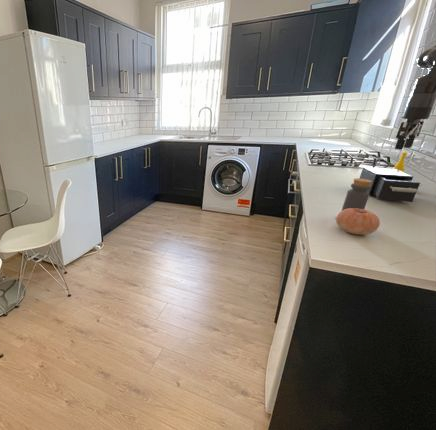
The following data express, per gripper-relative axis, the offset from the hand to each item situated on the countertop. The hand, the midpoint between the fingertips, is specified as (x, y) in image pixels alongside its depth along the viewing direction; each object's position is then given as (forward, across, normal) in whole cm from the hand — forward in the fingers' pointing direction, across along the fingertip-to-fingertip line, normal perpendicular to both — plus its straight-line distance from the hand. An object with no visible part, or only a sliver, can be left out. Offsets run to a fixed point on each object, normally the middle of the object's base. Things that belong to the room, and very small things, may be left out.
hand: (402, 148), depth 114 cm
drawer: (+21, +2, -1) cm, 21 cm away
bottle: (+22, -40, -5) cm, 46 cm away
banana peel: (+22, +28, +9) cm, 37 cm away
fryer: (+22, +9, +5) cm, 24 cm away
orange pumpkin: (+22, -50, -10) cm, 56 cm away
